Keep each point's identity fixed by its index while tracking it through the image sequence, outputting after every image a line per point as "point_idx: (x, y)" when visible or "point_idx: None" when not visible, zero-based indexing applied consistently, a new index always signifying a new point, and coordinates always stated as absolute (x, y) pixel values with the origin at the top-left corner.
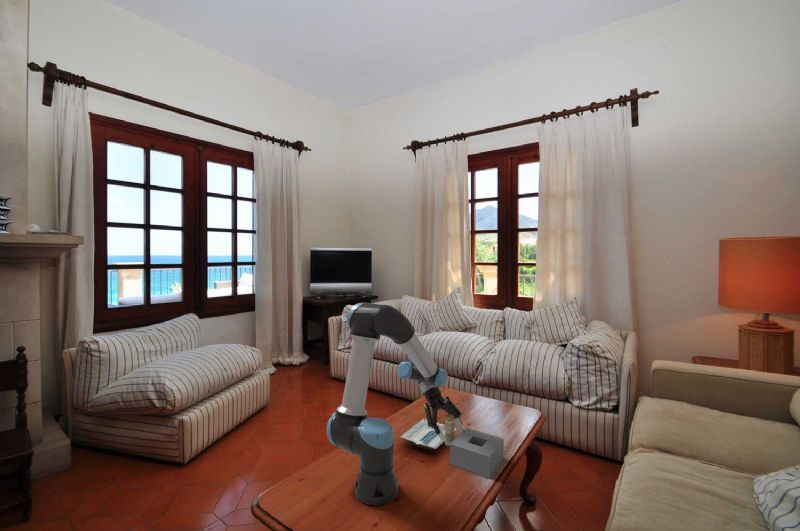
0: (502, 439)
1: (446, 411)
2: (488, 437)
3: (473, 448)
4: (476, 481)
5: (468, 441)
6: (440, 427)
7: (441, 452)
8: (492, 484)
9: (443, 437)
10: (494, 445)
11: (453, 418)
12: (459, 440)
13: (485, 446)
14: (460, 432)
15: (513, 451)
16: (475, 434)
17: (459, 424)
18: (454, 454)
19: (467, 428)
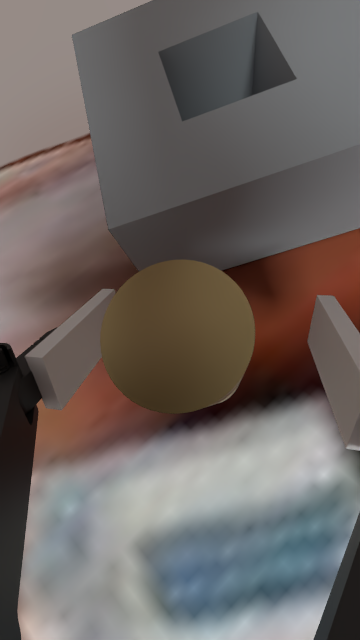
0: (85, 30)
1: (18, 547)
2: (122, 70)
3: (324, 11)
4: None
5: (270, 94)
6: (352, 359)
7: None
8: None
9: (340, 309)
10: (178, 2)
11: (164, 266)
12: (333, 116)
13: (234, 6)
14: None
15: (46, 158)
16: (151, 127)
17: (84, 331)
18: None
19: (115, 217)
